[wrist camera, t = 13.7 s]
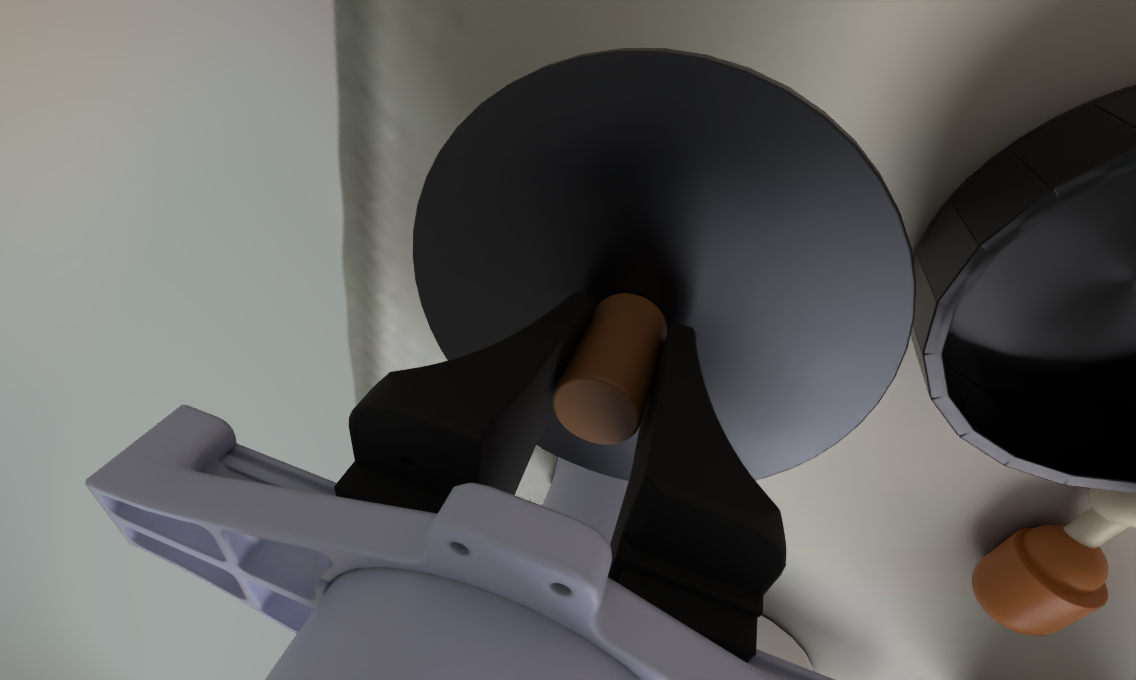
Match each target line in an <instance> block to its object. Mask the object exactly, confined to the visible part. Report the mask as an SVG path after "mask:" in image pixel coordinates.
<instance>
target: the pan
mask: <svg viewBox="0 0 1136 680" xmlns="http://www.w3.org/2000/svg"><path fill="white" fill-rule="evenodd" d="M913 263H914V271H915V278H916V299H915V318H914V322H913V326H912V330H911V337H912V342H913V345H914V348H915V352H916V355H917V358H918V361H919V364H920V367H921V371H922V374H923V377H924V380H925V383H926V386H927V390H928V393H929V396H930V398H931V400H932V401H933V403H934V404H935V406H936V407H937V408H938V410H939V411H940V412H941V414H942V415H943V416H944V418H945V419H946V420H947V422H948V423H949V424H950V426H951V427H952V428H953V430H954V431H955V432H956V434H957V435H959V437H961V438H962V439H964V440H965V441H967V442H968V443H970V444H971V445H973V446H975V447H976V448H978V449H979V450H981V451H982V452H984V453H985V454H987V455H988V456H990V457H992V458H993V459H995V460H996V461H998V462H999V463H1001V464H1003V465H1004V466H1007V467H1010V468H1013V469H1016V470H1019V471H1022V472H1025V473H1028V474H1031V475H1034V476H1037V477H1041V478H1044V479H1047V480H1050V481H1053V482H1056V483H1059V484H1062V485H1063V484H1064V485H1069V486H1077V487H1085V488H1093V489H1101V490H1110V491H1118V492H1126V493H1134V494H1136V85H1134V86H1131V87H1127V88H1124V89H1121V90H1119V91H1116V92H1113V93H1111V94H1108V95H1105V96H1103V97H1100V98H1098V99H1095V100H1092V101H1090V102H1087V103H1085V104H1083V105H1081V106H1078V107H1076V108H1074V109H1072V110H1070V111H1068V112H1066V113H1064V114H1062V115H1060V116H1058V117H1055V118H1053V119H1051V120H1049V121H1048V122H1046V123H1044V124H1043V125H1041V126H1039V127H1038V128H1036V129H1034V130H1033V131H1031V132H1029V133H1027V134H1026V135H1024V136H1022V137H1021V138H1019V139H1017V140H1016V141H1015V142H1013V143H1012V144H1010V145H1009V146H1008V147H1006V148H1005V149H1004V150H1002V151H1001V152H999V153H998V154H997V155H995V156H994V157H992V158H991V159H990V160H989V161H987V162H986V163H985V164H984V165H983V166H982V167H981V168H979V169H978V170H977V171H976V172H975V173H974V174H972V175H971V176H970V177H969V178H968V179H967V180H966V181H965V182H964V183H963V184H962V185H961V186H960V187H959V188H958V189H957V190H956V191H955V192H954V194H953V195H952V196H951V197H950V198H949V199H948V200H947V201H946V202H945V204H944V205H943V206H942V208H941V209H940V210H939V212H938V213H937V214H936V216H935V217H934V218H933V220H932V221H931V222H930V224H929V226H928V228H927V229H926V231H925V233H924V235H923V237H922V238H921V240H920V242H919V244H918V246H917V249H916V251H915V254H914V256H913Z"/></svg>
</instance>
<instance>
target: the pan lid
mask: <svg viewBox="0 0 1136 680" xmlns="http://www.w3.org/2000/svg"><path fill="white" fill-rule="evenodd" d="M413 262H414V271H415V280H416V284H417V288H418V293H419V297H420V301H421V305H422V308H423V310H424V313H425V316H426V318H427V321H428V324H429V326H430V329H431V331H432V333H433V335H434V337H435V339H436V341H437V343H438V345H439V347H440V349H441V350H442V352H443V354H444V355H445V357H446V358H447V360H448V361H449V360H452V359H456V358H459V357H462V356H465V355H468V354H470V353H473V352H476V351H479V350H481V349H484V348H486V347H488V346H491V345H493V344H495V343H497V342H499V341H501V340H503V339H505V338H507V337H509V336H511V335H513V334H514V333H516V332H518V331H519V330H521V329H523V328H525V327H526V326H528V325H530V324H531V323H533V322H534V321H536V320H537V319H539V318H540V317H542V316H543V315H545V314H546V313H547V312H549V311H550V310H552V309H553V308H554V307H556V306H557V305H558V304H560V303H561V302H562V301H563V300H565V299H566V298H567V297H568V296H570V295H571V294H572V293H574V292H579V293H582V294H585V295H589V296H592V297H595V298H596V302H595V306H594V311H593V315H592V318H591V320H590V322H589V324H588V326H587V328H586V330H585V332H584V334H583V336H582V338H581V339H580V341H579V343H578V345H577V347H576V349H575V351H574V353H573V355H572V357H571V359H570V361H569V363H568V365H567V367H566V369H565V371H564V373H563V375H562V377H561V379H560V381H559V383H558V385H557V387H556V389H555V391H554V393H553V408H554V411H555V412H554V414H553V416H552V417H551V419H550V421H549V423H548V424H547V426H546V428H545V430H544V431H543V433H542V435H541V437H540V439H539V441H538V443H537V445H538V446H539V447H541V448H542V449H544V450H546V451H548V452H550V453H552V454H554V455H556V456H558V457H560V458H562V459H564V460H566V461H568V462H571V463H573V464H575V465H578V466H580V467H583V468H585V469H588V470H591V471H594V472H597V473H600V474H603V475H606V476H610V477H613V478H617V479H622V480H626V481H629V478H630V474H631V470H632V465H633V459H634V454H635V449H636V443H637V438H638V432H639V427H640V424H641V421H642V417H643V414H644V410H645V407H646V404H647V400H648V397H649V393H650V390H651V386H652V383H653V380H654V376H655V373H656V369H657V365H658V361H659V358H660V354H661V351H662V348H663V344H664V341H665V338H666V335H667V332H668V330H669V327H670V324H671V321H672V322H676V323H679V324H682V325H685V326H688V327H692V328H693V329H694V331H695V332H696V346H697V352H698V358H699V363H700V367H701V371H702V374H703V378H704V382H705V385H706V388H707V392H708V394H709V397H710V400H711V403H712V406H713V408H714V411H715V413H716V415H717V418H718V420H719V422H720V424H721V426H722V428H723V430H724V432H725V434H726V436H727V438H728V440H729V442H730V444H731V445H732V447H733V449H734V450H735V452H736V453H737V455H738V457H739V458H740V460H741V461H742V463H743V465H744V466H745V467H746V469H747V470H748V472H749V473H750V474H751V476H752V477H753V478H754V480H757V479H761V478H766V477H768V476H771V475H774V474H777V473H780V472H783V471H786V470H789V469H791V468H793V467H795V466H797V465H800V464H802V463H804V462H806V461H808V460H810V459H812V458H814V457H816V456H817V455H819V454H821V453H822V452H824V451H825V450H827V449H828V448H830V447H832V446H833V445H835V444H836V443H838V442H839V441H840V440H841V439H843V438H844V437H845V436H846V435H847V434H849V433H850V432H851V431H852V430H853V429H854V428H856V427H857V426H858V425H859V424H860V423H861V422H862V421H863V420H864V419H865V417H866V416H867V415H868V414H869V413H870V412H871V411H872V410H873V408H874V407H875V406H876V405H877V404H878V403H879V401H880V400H881V398H882V397H883V395H884V394H885V392H886V390H887V389H888V387H889V386H890V384H891V383H892V381H893V379H894V378H895V376H896V374H897V371H898V369H899V367H900V364H901V362H902V360H903V357H904V355H905V353H906V350H907V347H908V343H909V339H910V335H911V330H912V326H913V322H914V318H915V299H916V278H915V271H914V263H913V255H912V249H911V245H910V242H909V239H908V236H907V233H906V230H905V226H904V223H903V220H902V217H901V214H900V212H899V209H898V207H897V205H896V203H895V201H894V199H893V197H892V195H891V193H890V192H889V190H888V188H887V186H886V184H885V182H884V180H883V178H882V176H881V174H880V173H879V171H878V170H877V169H876V167H875V166H874V165H873V163H872V162H871V161H870V159H869V158H868V157H867V155H866V154H865V153H864V151H863V150H862V149H861V148H860V146H859V145H858V144H857V142H856V141H855V140H854V139H853V138H852V137H851V136H850V135H849V134H848V133H847V132H846V131H845V130H844V129H842V128H841V127H840V126H839V125H838V124H837V123H836V122H835V121H834V120H833V119H832V118H831V117H830V116H829V115H828V114H827V113H826V112H824V111H823V110H822V109H820V108H819V107H817V106H816V105H814V104H813V103H811V102H810V101H809V100H807V99H806V98H804V97H803V96H801V95H800V94H798V93H797V92H795V91H794V90H793V89H791V88H790V87H788V86H786V85H784V84H782V83H780V82H778V81H775V80H773V79H771V78H769V77H767V76H765V75H763V74H761V73H759V72H757V71H755V70H753V69H751V68H748V67H745V66H742V65H738V64H735V63H732V62H729V61H726V60H722V59H719V58H716V57H713V56H709V55H705V54H699V53H692V52H686V51H679V50H673V49H666V48H620V49H614V50H607V51H600V52H593V53H586V54H581V55H578V56H575V57H572V58H568V59H565V60H562V61H559V62H556V63H552V64H549V65H546V66H544V67H542V68H540V69H538V70H536V71H534V72H532V73H530V74H528V75H526V76H524V77H522V78H520V79H518V80H516V81H514V82H512V83H510V84H508V85H507V86H505V87H504V88H502V89H501V90H500V91H498V92H497V93H495V94H494V95H493V96H491V97H490V98H488V99H487V100H485V101H484V102H483V103H481V104H480V105H479V106H478V107H477V108H476V109H475V110H474V111H473V112H472V113H471V114H470V115H469V116H468V117H467V118H466V119H465V120H464V121H463V122H462V123H461V124H460V125H459V126H458V127H457V128H456V129H455V131H454V132H453V133H452V135H451V136H450V138H449V139H448V140H447V142H446V143H445V144H444V146H443V147H442V148H441V150H440V151H439V153H438V155H437V157H436V159H435V161H434V163H433V165H432V167H431V169H430V171H429V173H428V175H427V177H426V180H425V183H424V186H423V189H422V192H421V195H420V198H419V201H418V205H417V211H416V217H415V223H414V229H413Z"/></svg>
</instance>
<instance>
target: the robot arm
mask: <svg viewBox="0 0 1136 680" xmlns="http://www.w3.org/2000/svg"><path fill="white" fill-rule="evenodd" d="M595 302H596V298H595V297H592V296H589V295H585V294H582V293H579V292H574V293H572V294H571V295H570V296H568V297H567V298H566V299H565V300H563V301H562V302H561V303H560V304H558V305H557V306H556V307H554V308H553V309H552V310H550V311H549V312H547V313H546V314H545V315H543V316H542V317H540V318H539V319H537V320H536V321H534V322H533V323H531V324H530V325H528V326H526V327H525V328H523V329H521V330H519V331H518V332H516V333H514V334H513V335H511V336H509V337H507V338H505V339H503V340H501V341H499V342H497V343H495V344H493V345H491V346H488V347H486V348H484V349H481V350H479V351H476V352H473V353H470V354H468V355H465V356H462V357H459V358H456V359H452V360H449V361H445V362H441V363H437V364H433V365H429V366H424V367H419V368H413V369H406V370H400V371H394V372H390V373H388V374H387V375H386V376H385V377H384V378H383V379H382V380H381V381H379V382H378V383H377V384H376V385H375V386H374V387H373V388H372V389H371V390H370V391H369V392H368V393H367V395H366V396H365V397H364V398H363V399H362V400H361V401H360V402H359V403H358V405H357V406H356V407H355V408H354V409H353V410H352V413H351V414H350V417H349V430H350V436H351V441H352V447H353V453H354V458H355V462H354V463H353V464H352V465H351V466H350V468H349V469H348V470H347V471H346V473H345V474H344V475H343V476H342V477H341V479H340V480H339V481H338V482H337V483H335V482H333V481H330V480H327V479H325V478H323V477H320V476H318V475H315V474H312V473H310V472H308V471H305V470H303V469H300V468H297V467H295V466H292V465H290V464H287V463H285V462H282V461H280V460H277V459H275V458H272V457H269V456H267V455H265V454H262V453H259V452H257V451H254V450H252V449H249V448H247V447H244V446H241V445H239V444H237V443H236V438H235V434H234V431H233V429H232V428H231V426H230V425H229V424H228V423H227V422H225V421H224V420H222V419H220V418H219V417H216V416H214V415H211V414H208V413H206V412H203V411H201V410H198V409H196V408H193V407H190V406H188V405H181V406H180V407H179V408H177V409H176V410H175V411H173V412H172V413H171V414H170V415H168V416H167V417H166V418H165V419H163V420H162V421H161V422H159V423H158V424H157V425H156V426H154V427H153V428H152V429H150V430H149V431H148V432H147V433H145V434H144V435H143V436H141V437H140V438H139V439H138V440H136V441H135V442H134V443H132V444H131V445H130V446H129V447H127V448H126V449H125V450H123V451H122V452H121V453H120V454H119V455H117V456H116V457H115V458H113V459H112V460H111V461H110V462H108V463H107V464H106V465H104V466H103V467H102V468H100V469H99V470H98V471H97V472H95V473H94V474H93V475H91V476H90V477H89V478H88V479H86V486H87V487H88V488H89V490H90V491H91V492H92V494H93V495H94V497H95V498H96V499H97V501H98V502H99V503H100V505H101V506H102V507H103V509H104V510H105V511H106V513H107V514H108V516H109V517H110V518H111V520H112V521H113V522H114V524H115V525H116V526H117V528H118V529H119V530H120V532H121V533H122V535H123V536H124V537H125V539H126V540H127V541H128V542H129V543H130V544H131V545H133V546H136V547H138V548H140V549H142V550H144V551H147V552H149V553H151V554H153V555H155V556H157V557H159V558H161V559H164V560H166V561H168V562H169V563H171V564H174V565H175V566H177V567H179V568H181V569H183V570H185V571H187V572H189V573H191V574H193V575H195V576H196V577H198V578H200V579H202V580H204V581H205V582H207V583H209V584H211V585H213V586H214V587H216V588H218V589H220V590H222V591H223V592H225V593H227V594H228V595H230V596H232V597H234V598H235V599H237V600H239V601H241V602H242V603H244V604H246V605H248V606H249V607H251V608H253V609H254V610H256V611H258V612H260V613H262V614H263V615H265V616H267V617H268V618H270V619H272V620H274V621H275V622H277V623H279V624H281V625H282V626H284V627H286V628H287V629H289V630H291V631H293V632H295V633H296V634H297V635H296V636H295V638H294V639H293V640H292V642H291V643H290V645H289V646H288V648H287V649H286V650H285V652H284V653H283V655H282V656H281V658H280V659H279V661H278V662H277V663H276V665H275V666H274V668H273V669H272V671H271V672H270V673H269V675H268V676H267V678H266V679H265V680H834V679H832V678H829V677H826V676H824V675H821V674H819V673H816V672H814V671H811V670H809V669H806V668H804V667H801V666H799V665H796V664H794V663H791V662H788V661H786V660H783V659H781V658H778V657H776V656H773V655H771V654H768V653H766V652H763V651H761V650H758V649H756V645H757V619H758V617H760V616H761V614H762V611H763V595H764V594H765V593H766V592H767V591H768V589H769V588H770V587H771V586H772V585H773V583H774V582H775V581H776V580H777V579H778V578H779V576H780V575H781V574H782V572H783V570H784V568H785V566H786V541H785V534H784V528H783V522H782V517H781V512H780V510H779V508H778V507H777V506H776V505H775V504H774V502H773V501H772V500H771V499H770V498H769V497H768V495H767V494H766V493H765V492H764V491H763V490H762V488H761V487H760V486H759V485H758V484H757V482H756V481H755V480H754V478H753V477H752V476H751V474H750V473H749V472H748V470H747V469H746V467H745V466H744V465H743V463H742V461H741V460H740V458H739V457H738V455H737V453H736V452H735V450H734V449H733V447H732V445H731V444H730V442H729V440H728V438H727V436H726V434H725V432H724V430H723V428H722V426H721V424H720V422H719V420H718V418H717V415H716V413H715V411H714V408H713V406H712V403H711V400H710V397H709V394H708V392H707V388H706V385H705V382H704V378H703V374H702V371H701V367H700V363H699V358H698V352H697V346H696V332H695V331H694V329H693V328H692V327H688V326H685V325H682V324H679V323H676V322H672V321H671V324H670V327H669V330H668V332H667V335H666V338H665V341H664V344H663V348H662V351H661V354H660V358H659V361H658V365H657V369H656V373H655V376H654V380H653V383H652V386H651V390H650V393H649V397H648V400H647V404H646V407H645V410H644V414H643V417H642V421H641V424H640V427H639V432H638V438H637V443H636V449H635V454H634V459H633V465H632V470H631V474H630V478H629V481H626V480H622V479H617V478H613V477H610V476H606V475H603V474H600V473H597V472H594V471H591V470H588V469H585V468H583V467H580V466H578V465H575V464H573V463H571V462H568V461H566V460H564V459H562V458H560V457H558V460H557V465H556V469H555V474H554V478H553V482H552V484H551V486H550V489H549V491H548V493H547V496H546V498H545V501H544V503H543V505H542V506H541V505H538V504H536V503H533V502H530V501H528V500H525V499H523V498H520V497H517V496H515V493H516V490H517V488H518V486H519V483H520V481H521V479H522V476H523V474H524V472H525V469H526V467H527V465H528V462H529V460H530V458H531V456H532V453H533V451H534V449H535V447H536V445H537V443H538V441H539V439H540V437H541V435H542V433H543V431H544V430H545V428H546V426H547V424H548V423H549V421H550V419H551V417H552V416H553V414H554V412H555V411H554V408H553V393H554V391H555V389H556V387H557V385H558V383H559V381H560V379H561V377H562V375H563V373H564V371H565V369H566V367H567V365H568V363H569V361H570V359H571V357H572V355H573V353H574V351H575V349H576V347H577V345H578V343H579V341H580V339H581V338H582V336H583V334H584V332H585V330H586V328H587V326H588V324H589V322H590V320H591V318H592V315H593V311H594V306H595Z"/></svg>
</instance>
